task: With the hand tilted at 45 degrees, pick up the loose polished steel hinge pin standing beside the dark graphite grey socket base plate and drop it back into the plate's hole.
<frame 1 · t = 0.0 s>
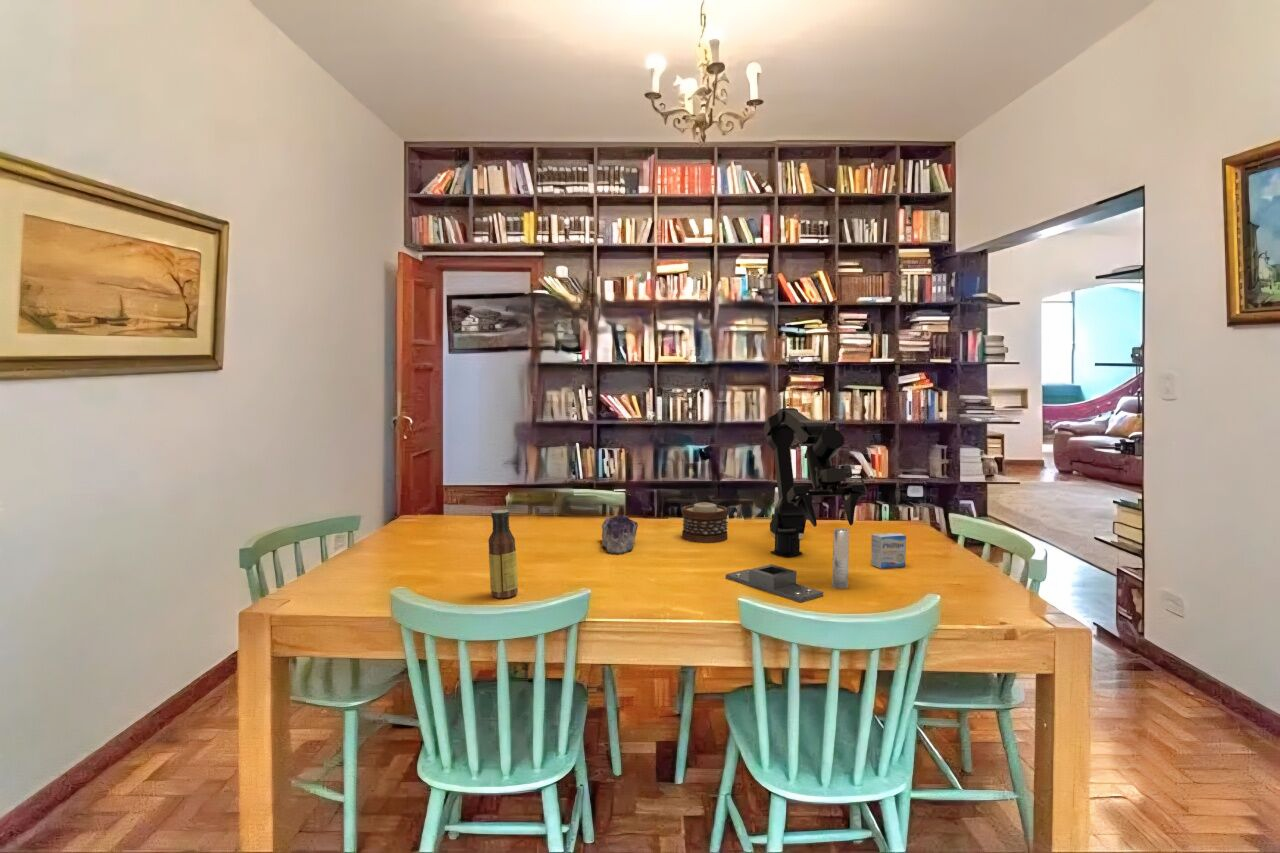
hand: (833, 525, 170), 15 cm above the table, fingers open, 9 cm apart
sauce bottle: (503, 596, 164), on the table
grey socket base plate: (772, 586, 171), on the table
supplement box: (788, 536, 225), on the table
hinge pin: (840, 586, 171), on the table
medicine box: (888, 566, 190), on the table
geode: (619, 547, 211), on the table
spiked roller: (704, 538, 222), on the table
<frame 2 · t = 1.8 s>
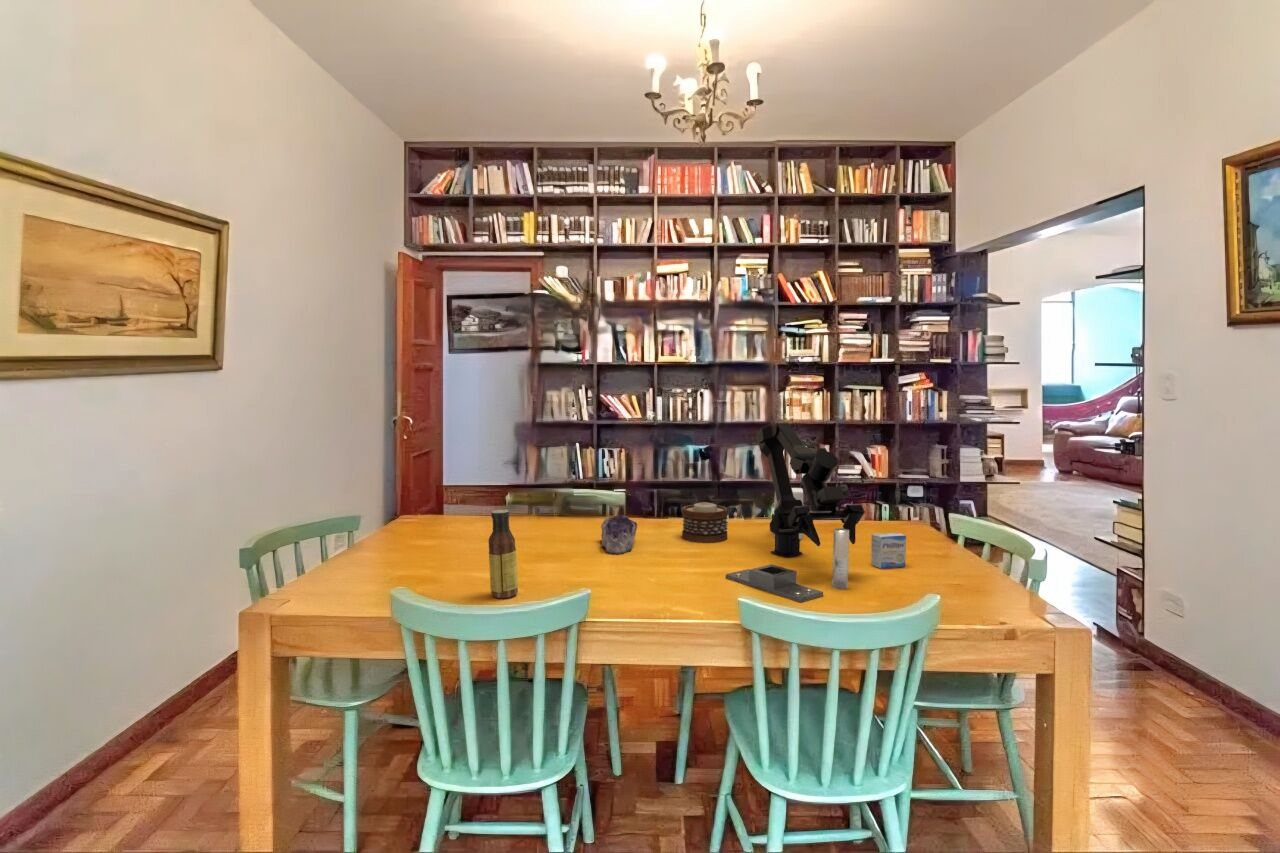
hand: (836, 544, 172), 10 cm above the table, fingers open, 9 cm apart
nothing on the table moved.
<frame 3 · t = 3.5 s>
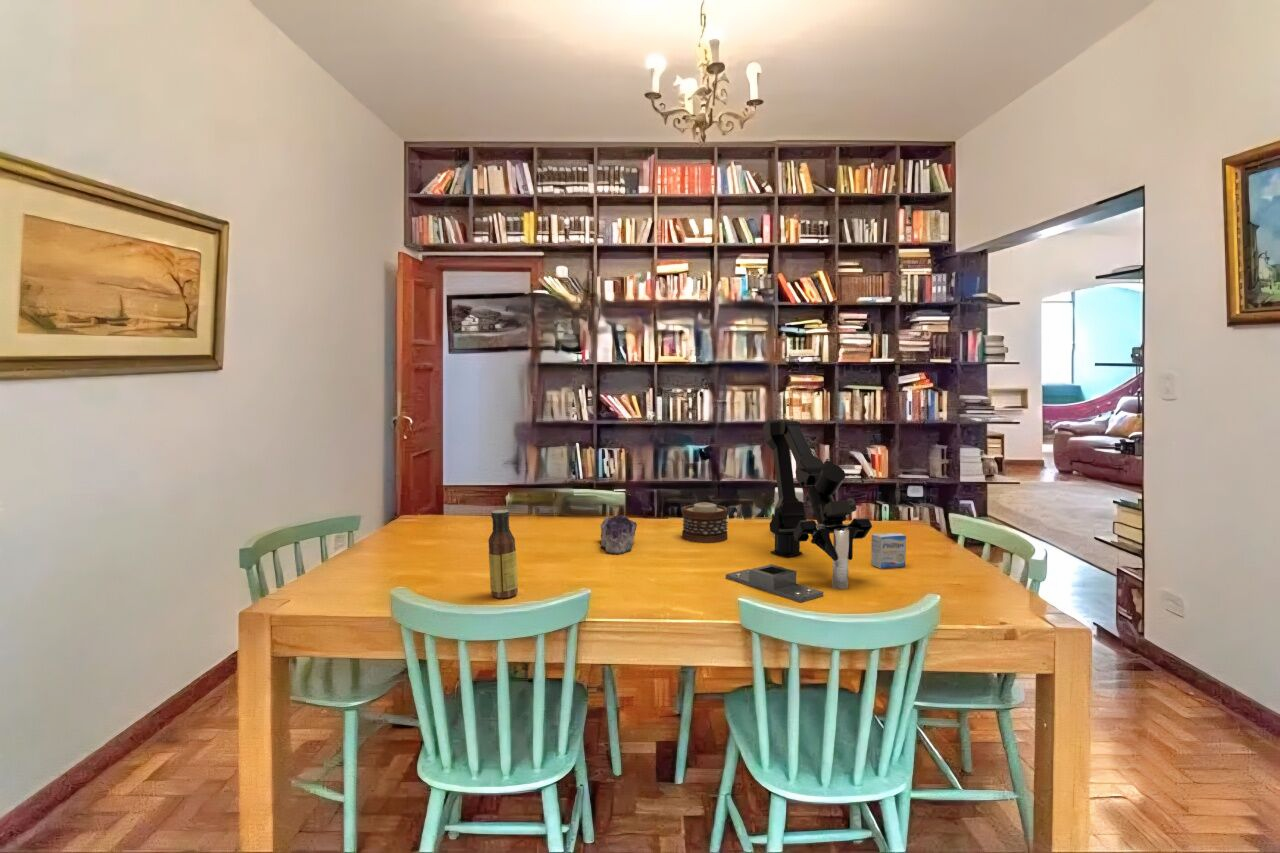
hand: (843, 559, 169), 7 cm above the table, fingers closed on hinge pin, 4 cm apart
hinge pin: (840, 586, 171), on the table, touching gripper
everything else where it was.
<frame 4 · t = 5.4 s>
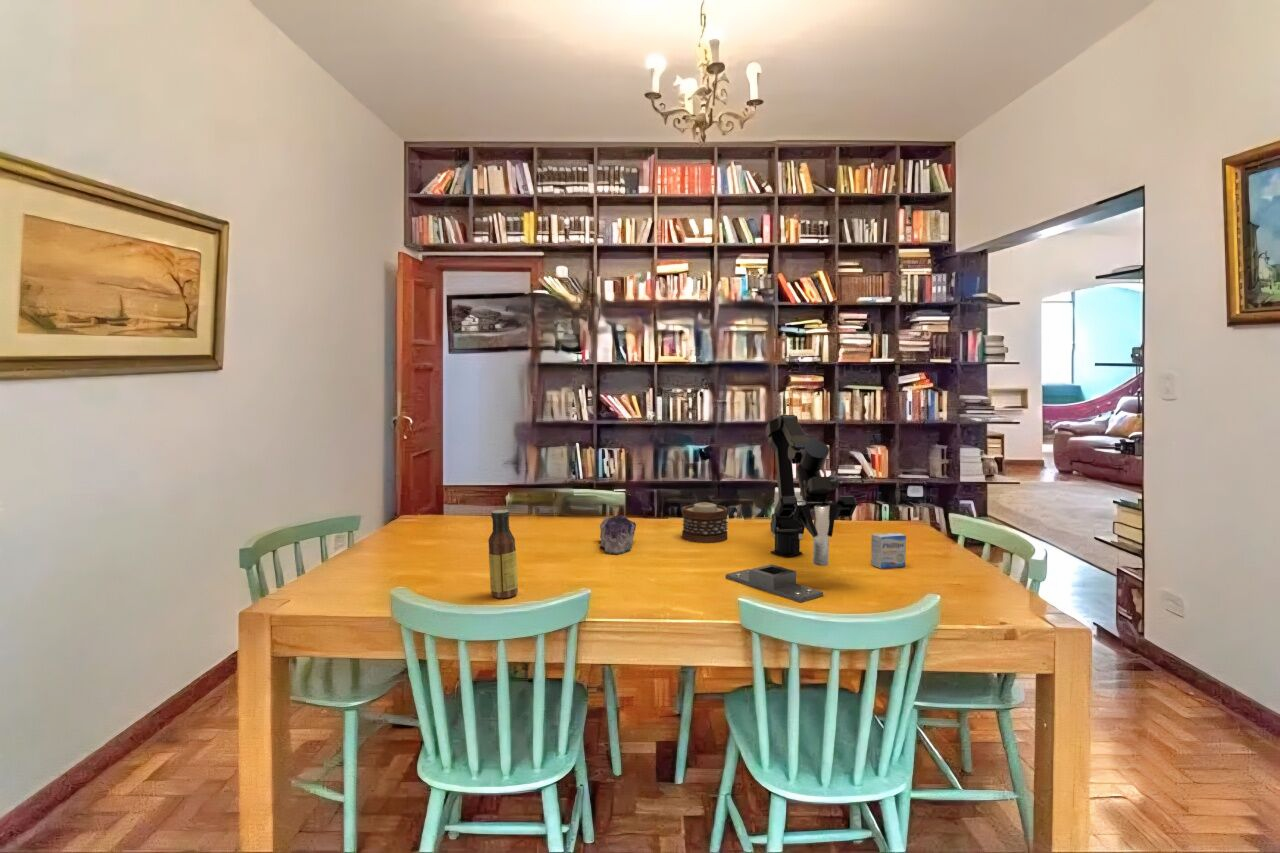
hand: (822, 536, 168), 13 cm above the table, fingers closed on hinge pin, 4 cm apart
hinge pin: (820, 563, 170), point 6 cm above the table, touching gripper
everything else where it was.
when the fingers open (9 cm above the table, at t = 7.4 s): hinge pin drops 2 cm, resting in grey socket base plate.
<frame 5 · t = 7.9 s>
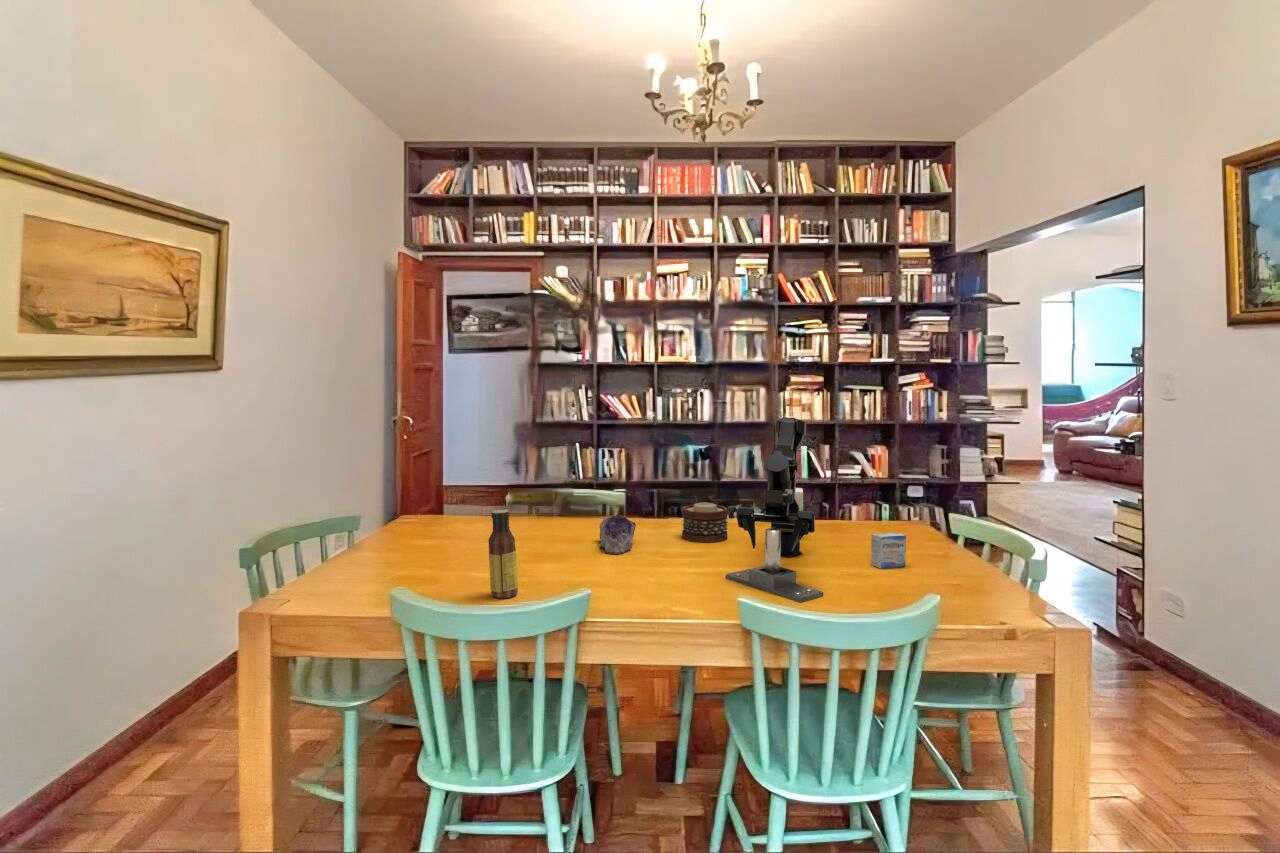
hand: (772, 549, 169), 10 cm above the table, fingers open, 9 cm apart
hinge pin: (772, 586, 171), resting in grey socket base plate
everything else where it was.
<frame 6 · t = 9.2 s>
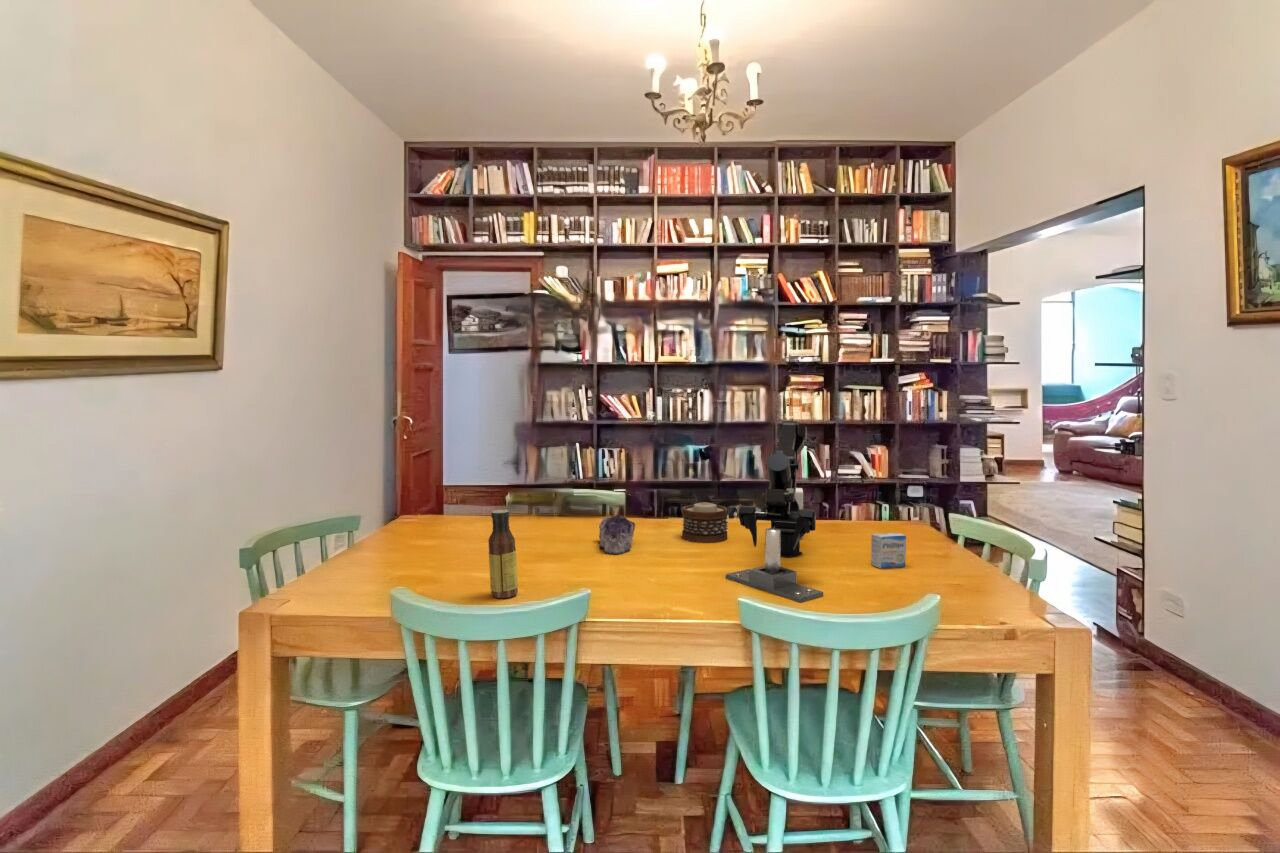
hand: (773, 547, 172), 9 cm above the table, fingers open, 9 cm apart
nothing on the table moved.
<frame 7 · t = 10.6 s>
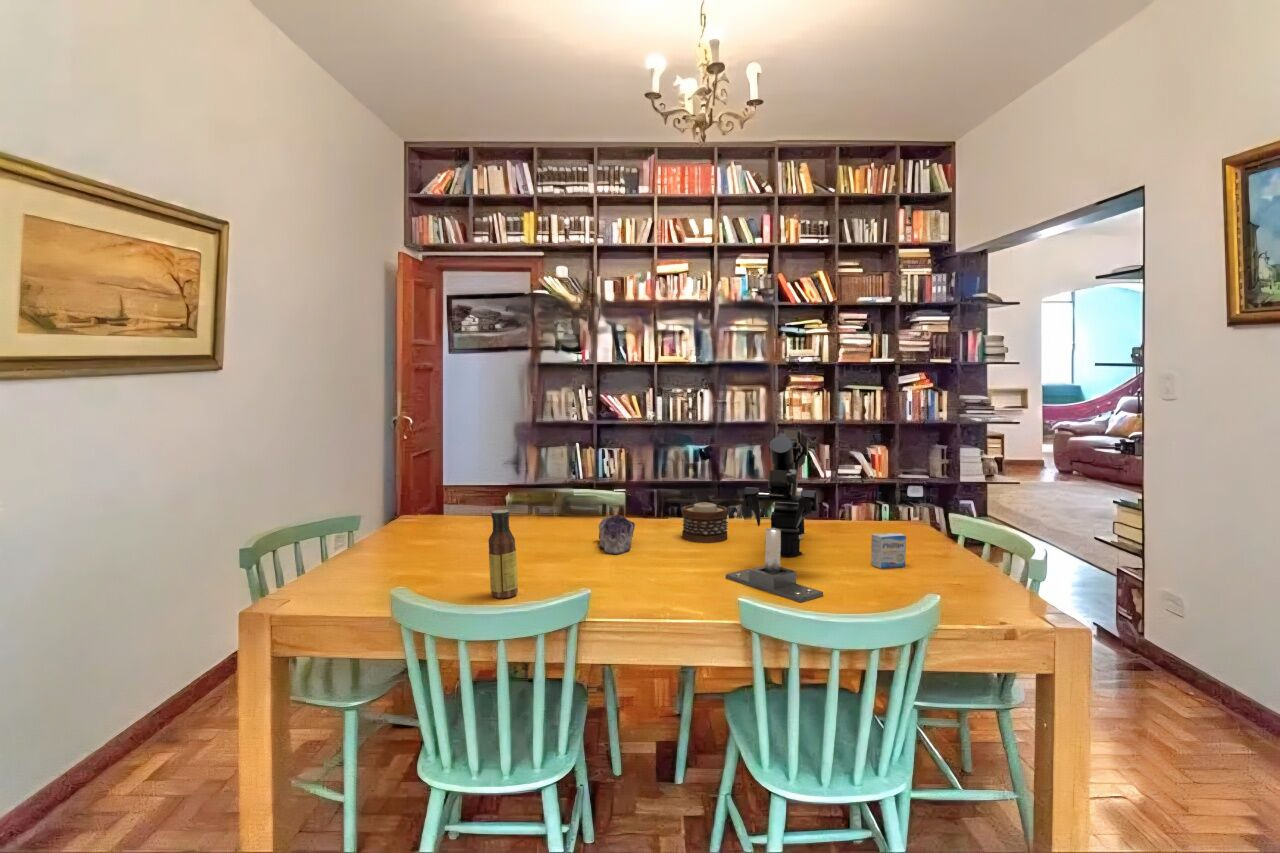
hand: (776, 526, 177), 13 cm above the table, fingers open, 9 cm apart
nothing on the table moved.
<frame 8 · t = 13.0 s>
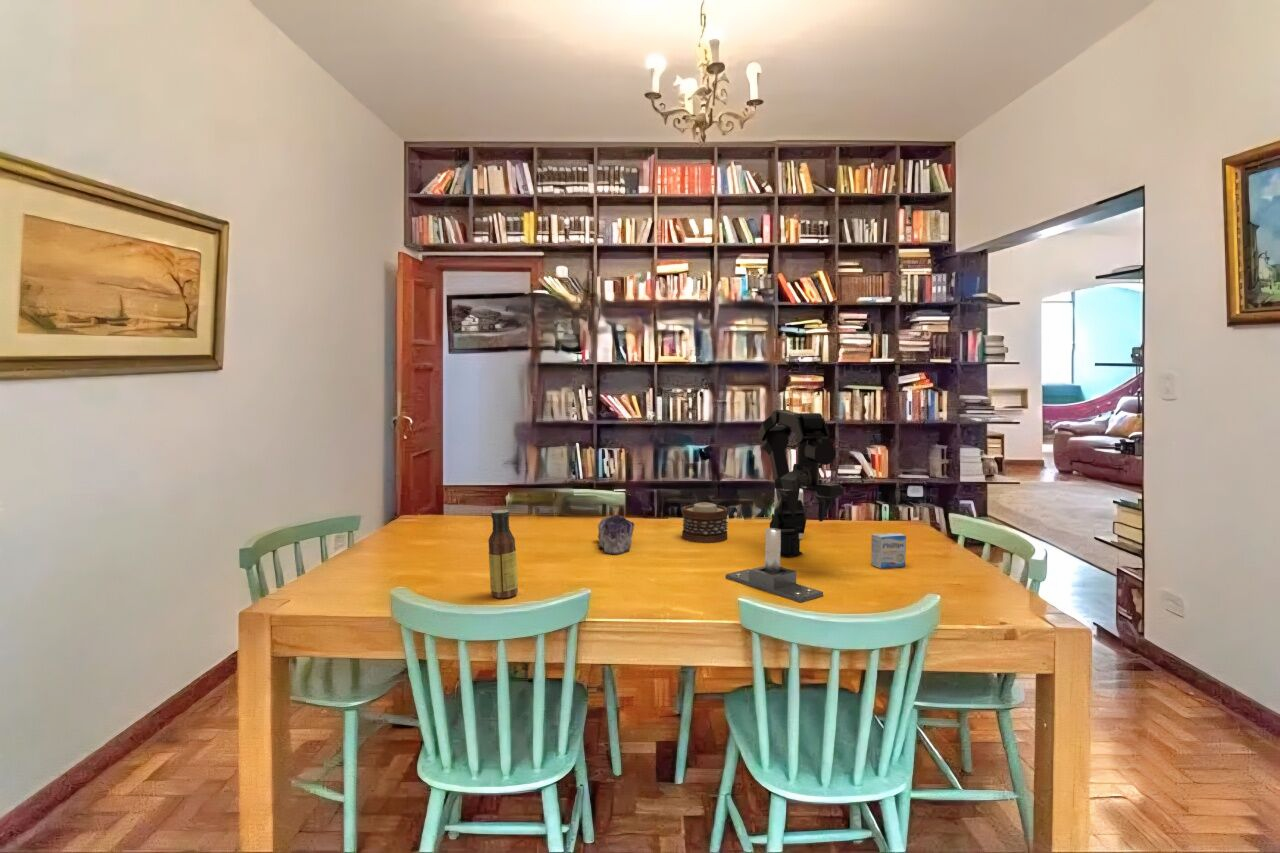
hand: (806, 518, 188), 13 cm above the table, fingers open, 9 cm apart
at the end: hinge pin 0.0 cm off-centre on the grey socket base plate, point 0.0 cm above the grey socket base plate's base; hinge pin tilted 0°; the gripper is holding nothing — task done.
